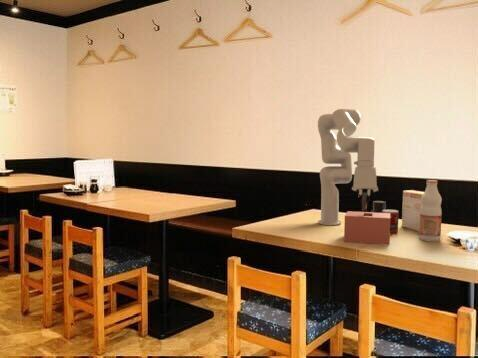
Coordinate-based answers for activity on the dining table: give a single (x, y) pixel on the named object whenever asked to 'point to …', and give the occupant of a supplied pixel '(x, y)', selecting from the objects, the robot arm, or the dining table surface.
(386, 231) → the box
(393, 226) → the canned food
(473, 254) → the dining table surface
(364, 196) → the block
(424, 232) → the fruit juice
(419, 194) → the coffeecake box
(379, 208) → the ink bottle
